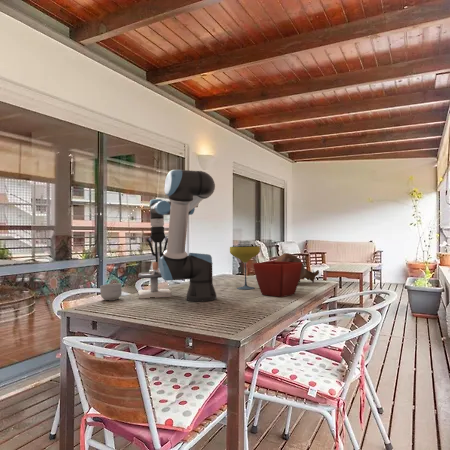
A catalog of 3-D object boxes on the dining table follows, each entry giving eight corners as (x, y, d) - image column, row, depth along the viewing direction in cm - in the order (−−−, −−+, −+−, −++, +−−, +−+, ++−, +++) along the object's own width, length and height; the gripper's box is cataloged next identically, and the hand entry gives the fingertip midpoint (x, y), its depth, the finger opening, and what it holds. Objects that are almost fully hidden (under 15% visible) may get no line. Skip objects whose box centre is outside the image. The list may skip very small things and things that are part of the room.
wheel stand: (171, 296, 204) (171, 277, 204) (138, 298, 200) (138, 279, 200) (168, 292, 221) (168, 274, 221) (138, 293, 217) (138, 276, 217)
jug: (270, 285, 238) (318, 293, 237) (275, 255, 234) (324, 262, 233) (268, 275, 258) (312, 282, 257) (273, 247, 254) (317, 254, 253)
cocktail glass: (262, 290, 219) (260, 246, 220) (230, 290, 219) (229, 247, 220) (259, 286, 237) (258, 245, 238) (230, 286, 237) (229, 246, 238)
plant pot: (304, 293, 201) (303, 261, 202) (283, 298, 187) (282, 264, 188) (274, 291, 214) (273, 261, 215) (253, 295, 200) (252, 263, 201)
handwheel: (168, 277, 203) (168, 263, 203) (135, 278, 202) (135, 264, 202) (170, 274, 220) (170, 261, 220) (140, 275, 219) (140, 262, 219)
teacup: (115, 301, 192) (115, 285, 193) (95, 301, 195) (95, 285, 195) (128, 297, 206) (127, 282, 206) (109, 297, 208) (109, 282, 208)
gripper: (146, 226, 213) (147, 269, 212) (169, 225, 216) (170, 267, 215) (145, 227, 221) (147, 268, 220) (168, 226, 223) (169, 266, 223)
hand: (159, 267), depth 218 cm, fingers closed
